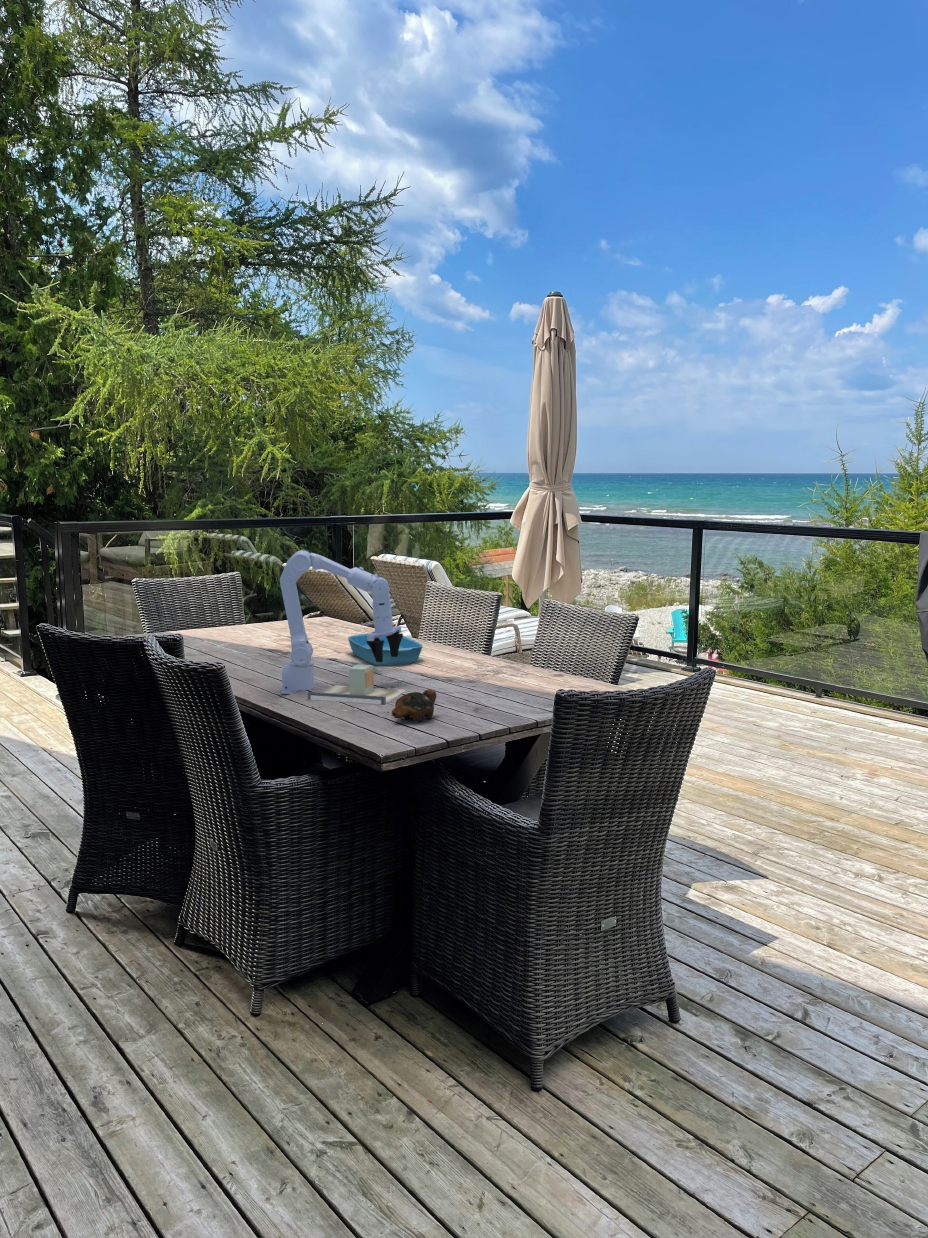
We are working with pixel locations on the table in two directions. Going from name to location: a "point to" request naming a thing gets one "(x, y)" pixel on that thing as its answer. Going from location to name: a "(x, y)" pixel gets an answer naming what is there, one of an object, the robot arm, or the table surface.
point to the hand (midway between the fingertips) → (387, 659)
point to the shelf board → (382, 692)
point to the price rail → (347, 698)
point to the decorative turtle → (415, 705)
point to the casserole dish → (386, 650)
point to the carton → (361, 679)
